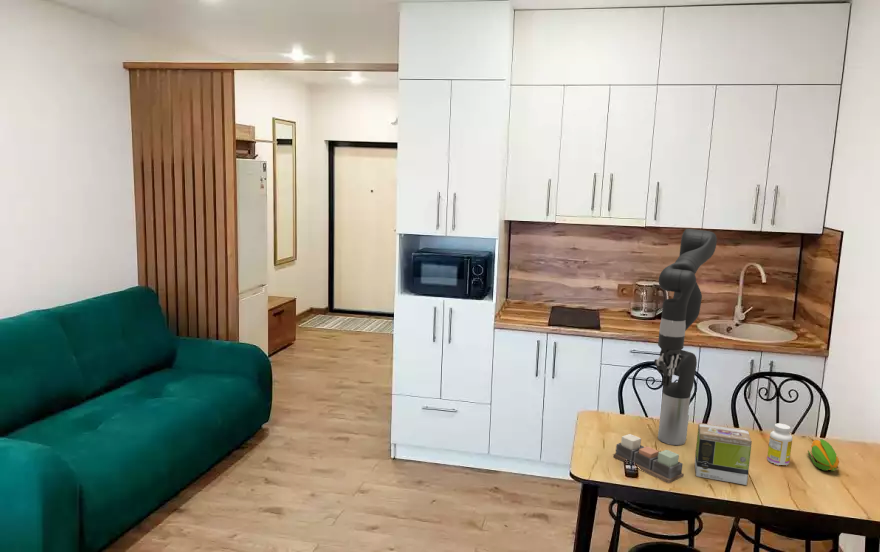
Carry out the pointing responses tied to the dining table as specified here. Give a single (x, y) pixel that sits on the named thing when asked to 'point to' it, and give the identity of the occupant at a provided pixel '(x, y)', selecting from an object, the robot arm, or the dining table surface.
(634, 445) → the button ivory
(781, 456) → the supplement bottle
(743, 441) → the tea box
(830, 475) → the dining table surface
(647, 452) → the button terracotta
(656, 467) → the grey button tray
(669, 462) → the button sage
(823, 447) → the corn
